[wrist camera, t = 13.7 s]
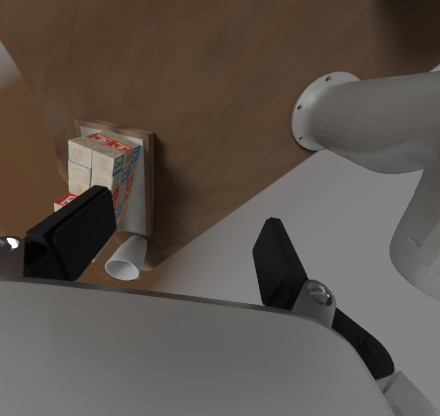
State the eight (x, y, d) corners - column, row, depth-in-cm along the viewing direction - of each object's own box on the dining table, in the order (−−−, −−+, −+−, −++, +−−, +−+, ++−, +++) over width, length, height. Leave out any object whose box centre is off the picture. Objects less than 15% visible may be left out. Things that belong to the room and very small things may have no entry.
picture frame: (154, 132, 34) (148, 135, 31) (153, 229, 48) (149, 237, 45) (85, 116, 33) (72, 118, 30) (105, 221, 47) (98, 229, 44)
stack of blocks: (106, 128, 31) (48, 144, 20) (141, 144, 32) (103, 166, 22) (97, 214, 41) (56, 253, 31) (124, 223, 43) (92, 263, 32)
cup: (123, 229, 48) (102, 257, 40) (152, 234, 49) (138, 262, 41) (125, 248, 52) (107, 277, 44) (152, 253, 53) (139, 282, 45)
